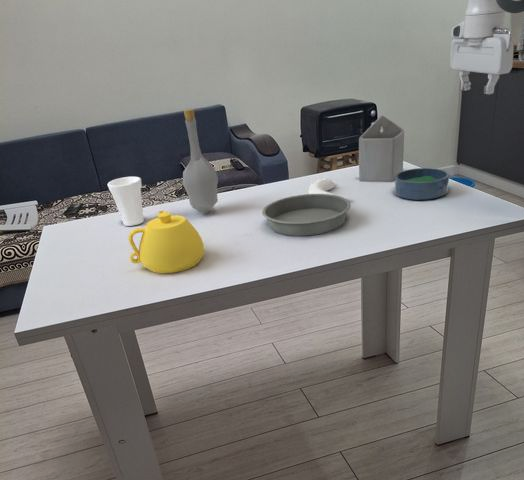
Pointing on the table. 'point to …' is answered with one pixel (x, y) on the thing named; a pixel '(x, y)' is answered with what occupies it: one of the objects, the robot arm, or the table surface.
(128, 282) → the table surface
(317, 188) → the white rounded piece
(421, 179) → the sponge
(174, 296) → the table surface
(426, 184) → the bowl
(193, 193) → the bottle
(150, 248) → the teapot
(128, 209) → the cup
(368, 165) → the planter
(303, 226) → the cake pan
